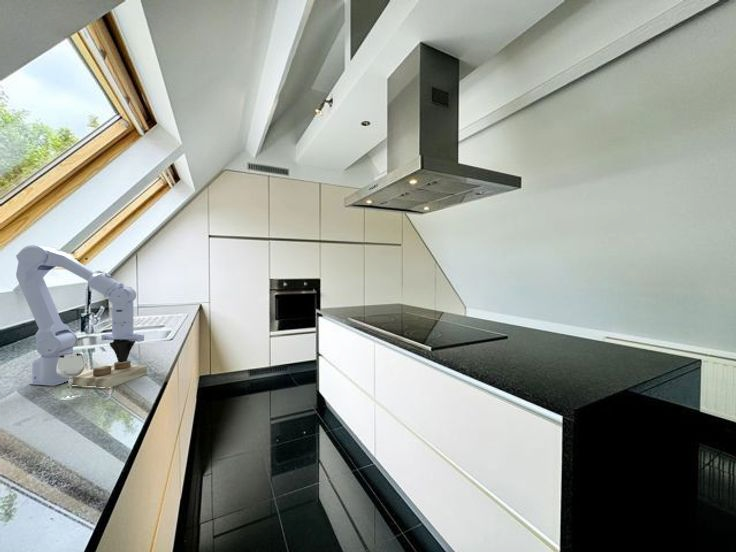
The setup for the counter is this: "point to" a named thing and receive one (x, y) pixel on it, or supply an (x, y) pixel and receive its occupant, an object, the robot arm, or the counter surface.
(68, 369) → the wineglass
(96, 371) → the knob
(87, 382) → the knob panel
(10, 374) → the counter surface
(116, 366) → the knob
